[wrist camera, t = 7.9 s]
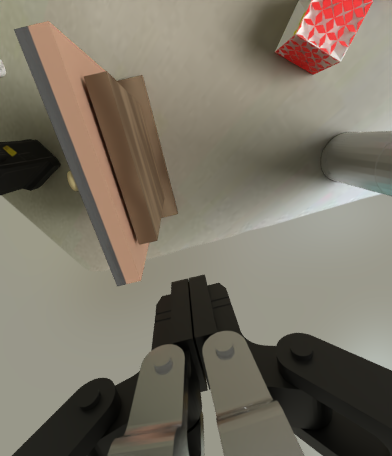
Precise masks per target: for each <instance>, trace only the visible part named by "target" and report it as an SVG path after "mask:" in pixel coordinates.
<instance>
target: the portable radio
mask: <svg viewBox="0 0 392 456" xmlns="http://www.w3.org/2000/svg"><path fill="white" fill-rule="evenodd" d="M59 166H60V163H59V161H58V160H57V159H56V157H55V156H54V155H53V154H52V153H50V152H49V151H48V150H47V149H46V148H45V147H44V146H43V145H42V144H41V143H39V142H38V141H37V140H31V139H29V140H23V141H13V142H0V195H3V194H6V193H9V192H13V191H16V190H19V189H27V190H30V191H31V190H34V189H37V188H39V187H40V186H41V185H42V184H43V183H44V182H45V181H46V180H47V179H48V178H49V177H50V176H51V175H52V174H53V173H54V172H55V171H56V170H57V169H58V167H59Z"/></svg>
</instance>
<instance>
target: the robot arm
mask: <svg viewBox="0 0 392 456" xmlns="http://www.w3.org/2000/svg"><path fill="white" fill-rule="evenodd" d="M321 167H322V170H323V172H324V174H325V175H326V176H327V177H328V178H329V179H331V180H333V181H337V182H341V183H344V184H348V185H352V186H355V187H359V188H363V189H366V190H370V191H374V192H378V193H381V194H386V195H389V196H392V131H381V132H348V133H342V134H340V135H337V136H336V137H334V138H333V139H332V140H331V141H330V142H329V143H328V144H327V145H326V147H325V148H324V151H323V153H322V157H321ZM171 286H172V287H171V294H170V295H166V296H162V297H161V299H160V300H159V302H158V304H157V305H156V316H155V324H154V333H153V342H152V351H151V352H150V353H149V354H148V355H147V356H146V357H145V358H144V360H143V362H142V365H141V368H140V371H139V372H138V373H137V374H135V375H134V376H132V377H131V378H129V379H127V380H125V381H123V382H121V383H119V384H117V385H116V386H115V385H114V383H113V382H112V381H111V380H110V379H107V378H98V379H94V380H92V381H90V382H88V383H87V384H85V385H83V386H82V387H81V388H80V389H78V390H77V391H76V392H75V393H74V394H73V395H72V396H71V397H70V398H69V399H68V400H67V401H66V402H65V403H64V404H63V405H62V406H61V407H60V408H59V409H58V410H57V411H56V412H55V413H54V414H53V415H52V416H51V417H50V418H49V419H48V420H47V421H46V422H45V423H44V424H43V425H42V426H41V427H40V428H39V429H38V430H37V431H36V432H35V433H34V434H33V435H32V436H31V437H30V438H29V439H28V440H27V441H26V442H25V443H24V444H23V445H22V446H21V447H20V448H19V449H18V450H17V451H16V452H15V453H14V454H13V455H12V456H204V455H205V453H204V424H203V423H204V422H203V413H202V402H201V393H200V392H203V391H207V383H208V386H209V389H211V394H212V398H213V403H214V407H215V412H216V416H217V418H216V420H217V425H218V430H219V434H220V439H221V444H222V449H223V453H224V456H304V454H303V451H302V449H301V447H300V445H299V443H298V441H297V439H296V437H295V435H297V436H298V437H299V438H300V439H302V440H303V441H304V442H306V443H307V444H308V445H310V446H311V447H312V448H314V449H315V450H316V451H317V452H319V453H320V454H321V455H323V456H392V371H391V370H389V369H387V368H384V367H382V366H380V365H377V364H375V363H373V362H370V361H368V360H366V359H364V358H362V357H359V356H357V355H355V354H352V353H350V352H348V351H346V350H343V349H341V348H339V347H336V346H334V345H332V344H330V343H327V342H325V341H323V340H321V339H318V338H316V337H314V336H311V335H308V334H303V333H293V334H289V335H286V336H284V337H283V338H281V339H280V340H279V342H278V343H277V346H263V345H258V344H255V343H252V342H250V341H249V340H247V339H246V338H245V337H244V336H243V335H242V333H241V331H240V328H239V325H238V322H237V319H236V316H235V314H234V311H233V308H232V305H231V302H230V299H229V296H228V293H227V290H226V288H225V287H224V286H222V285H221V284H220V283H216V284H212V285H208V286H207V282H206V278H205V275H200V276H197V277H192V278H189V280H188V279H184V280H180V281H175V282H172V285H171ZM206 379H207V382H206ZM294 434H295V435H294Z"/></svg>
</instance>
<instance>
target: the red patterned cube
mask: <svg viewBox="0 0 392 456" xmlns="http://www.w3.org/2000/svg"><path fill="white" fill-rule="evenodd" d="M372 2H373V0H299V1H298V3H297V5H296V7H295V9H294V12H293V14H292V16H291V18H290V20H289V22H288V25H287V27H286V29H285V31H284V33H283V35H282V38H281V40H280V42H279V44H278V46H277V48H276V51H275V53H277V54H278V55H280V56H282V57H283V58H285V59H287V60H289V61H290V62H292V63H294V64H296V65H297V66H299V67H301V68H302V69H304V70H306V71H307V72H309V73H311V74H313V75H314V74H316V73H318V72H320V71H322V70H324V69H326V68H329V67H331V66H333V65H335V64H337V63H339V62H341V61H342V59H343V57H344V55H345V53H346V51H347V49H348V47H349V46H350V44H351V42H352V40H353V38H354V36H355V34H356V32H357V31H358V29H359V27H360V25H361V23H362V21H363V19H364V17H365V16H366V14H367V12H368V10H369V8H370V6H371V4H372Z"/></svg>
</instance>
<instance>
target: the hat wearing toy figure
mask: <svg viewBox="0 0 392 456" xmlns="http://www.w3.org/2000/svg"><path fill="white" fill-rule="evenodd" d="M5 75H6V69H5V67H4V65H3V62H2V61H1V60H0V77H4V76H5Z"/></svg>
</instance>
